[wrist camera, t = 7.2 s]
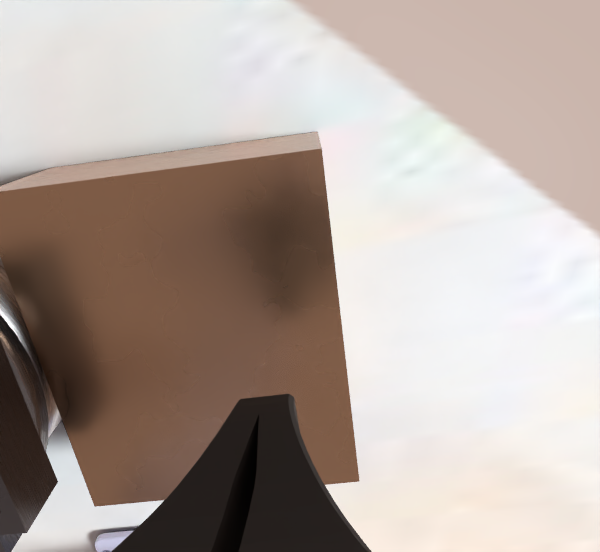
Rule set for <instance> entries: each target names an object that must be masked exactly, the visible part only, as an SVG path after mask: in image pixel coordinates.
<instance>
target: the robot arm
mask: <svg viewBox="0 0 600 552" xmlns="http://www.w3.org/2000/svg"><path fill="white" fill-rule="evenodd" d="M95 548H96V551H97V552H371V550H370V549H369V548H368V547H367V546H366V544H365V543H364V542H363V540H362V539H361V538H360V536H359V535H358V534H357V533H356V531H355V530H354V529H353V527H352V526H351V525H350V523H349V522H348V521H347V519H346V518H345V517H344V515H343V514H342V512H341V511H340V509H339V508H338V506H337V505H336V503H335V502H334V500H333V498H332V497H331V495H330V493H329V492H328V490H327V488H326V487H325V485H324V483H323V481H322V480H321V478H320V476H319V474H318V472H317V470H316V468H315V466H314V464H313V462H312V460H311V458H310V456H309V453H308V451H307V449H306V446H305V444H304V441H303V439H302V436H301V433H300V429H299V423H298V417H297V411H296V405H295V399H294V397H293V396H292V395H290V394H281V395H272V396H262V397H253V398H244V399H240V400H239V401H238V402H237V403H236V405H235V407H234V408H233V410H232V411H231V413H230V414H229V416H228V417H227V419H226V420H225V422H224V424H223V425H222V427H221V428H220V430H219V431H218V433H217V434H216V435H215V437H214V438H213V440H212V441H211V443H210V444H209V445H208V447H207V448H206V450H205V451H204V452H203V454H202V455H201V457H200V458H199V459H198V461H197V462H196V463H195V464H194V466H193V467H192V468H191V469H190V471H189V472H188V473H187V474H186V476H185V477H184V478H183V479H182V481H181V482H180V483H179V484H178V486H177V487H176V488H175V489H174V490H173V491H172V493H171V494H170V495H169V496H168V497H167V498H166V499H165V500H164V502H163V503H162V504H161V505H160V506H159V507H158V508H157V509H156V510H155V511H154V512H153V513H152V514H151V515H150V516H149V517H148V518H147V519H146V520H145V521H144V522H143V523H142V524H141V525H140V526H139V527H138V528H137V529H135V530H134V531H123V532H112V533H103V534H100V535H99V536H98V537H97V539H96V541H95Z"/></svg>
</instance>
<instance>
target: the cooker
mask: <svg viewBox="0 0 600 552" xmlns="http://www.w3.org/2000/svg"><path fill="white" fill-rule="evenodd" d="M0 315H1V316H2V317H3V318H4V320H5V321H6V322H7V323H8V325H9V326H10V327H11V328H12V330H13V331H14V332H15V334H16V335H17V337H18V339H19V340H20V342H21V343H22V345H23V347H24V348H25V350H26V351H27V353H28V355H29V357H30V359H31V361H32V363H33V365H34V368H35V370H36V372H37V374H38V376H39V379H40V383H41V386H42V389H43V392H44V396H45V399H46V406H47V413H48V438H49V437H50V435H51V434H52V433H53V431H54V430H55V428H56V427H57V426H58V424H59V423H60V421H61V420H62V421H63V424H64V427H65V429H66V432H67V434H68V437H69V440H70V442H71V445H72V448H73V450H74V453H75V456H76V458H77V461H78V464H79V466H80V469H81V471H82V474H83V477H84V479H85V482H86V485H87V487H88V490H89V493H90V495H91V498H92V500H93V503H94V506H105V505H115V504H126V503H136V502H147V501H157V500H165V499H166V498H167V497H168V496H169V495H170V494H171V493H172V491H173V490H174V489H175V488H176V487H177V486H178V484H179V483H180V482H181V481H182V479H183V478H184V477H185V476H186V474H187V473H188V472H189V471H190V469H191V468H192V467H193V466H194V464H195V463H196V462H197V461H198V459H199V458H200V457H201V455H202V454H203V452H204V451H205V450H206V448H207V447H208V445H209V444H210V443H211V441H212V440H213V438H214V437H215V435H216V434H217V433H218V431H219V430H220V428H221V427H222V425H223V424H224V422H225V420H226V419H227V417H228V416H229V414H230V413H231V411H232V410H233V408H234V407H235V405H236V403H237V402H238V401H239V400H240V399H244V398H253V397H262V396H272V395H281V394H290V395H292V396H293V397H294V399H295V405H296V411H297V417H298V423H299V429H300V433H301V436H302V439H303V441H304V444H305V446H306V449H307V451H308V453H309V456H310V458H311V460H312V462H313V464H314V466H315V468H316V470H317V472H318V474H319V476H320V478H321V480H322V481H323V483H324V485H326V484H336V483H347V482H357V481H359V474H358V466H357V457H356V448H355V439H354V430H353V421H352V413H351V404H350V395H349V386H348V377H347V369H346V360H345V351H344V342H343V333H342V324H341V316H340V307H339V298H338V289H337V280H336V272H335V263H334V254H333V245H332V236H331V227H330V219H329V210H328V201H327V192H326V183H325V175H324V166H323V157H322V148H321V144H320V140H319V136H318V132H311V133H304V134H296V135H289V136H282V137H274V138H267V139H259V140H252V141H245V142H237V143H230V144H223V145H215V146H208V147H201V148H193V149H186V150H178V151H171V152H164V153H156V154H149V155H142V156H134V157H127V158H120V159H112V160H105V161H97V162H90V163H83V164H75V165H68V166H61V167H53V168H49V169H46V170H43V171H41V172H38V173H35V174H32V175H30V176H27V177H24V178H21V179H19V180H16V181H13V182H10V183H7V184H5V185H2V186H0ZM21 535H22V533H19V534H8V535H0V552H11V551H12V549H13V548H14V546H15V545H16V543H17V541H18V540H19V538H20V536H21Z"/></svg>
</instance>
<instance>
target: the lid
mask: <svg viewBox="0 0 600 552" xmlns="http://www.w3.org/2000/svg"><path fill="white" fill-rule="evenodd" d="M47 443H48V413H47V406H46V399H45V396H44V392H43V389H42V386H41V383H40V379H39V376H38V374H37V372H36V370H35V368H34V365H33V363H32V361H31V359H30V357H29V355H28V353H27V351H26V350H25V348H24V347H23V345H22V343H21V342H20V340H19V339H18V337H17V335H16V334H15V332H14V331H13V330H12V328H11V327H10V326H9V325H8V323H7V322H6V321H5V320H4V318H3V317H2V316H1V315H0V535H8V534H19V533H27V532H28V530H29V528H30V527H31V525H32V524H33V522H34V520H35V519H36V517H37V515H38V514H39V512H40V510H41V509H42V507H43V505H44V504H45V502H46V500H47V499H48V497H49V496H50V494H51V492H52V491H53V489H54V487H55V486H56V484H57V482H58V481H57V478H56V476H55V474H54V471H53V469H52V466H51V464H50V461H49V459H48V456H47V454H46V449H47Z"/></svg>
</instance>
